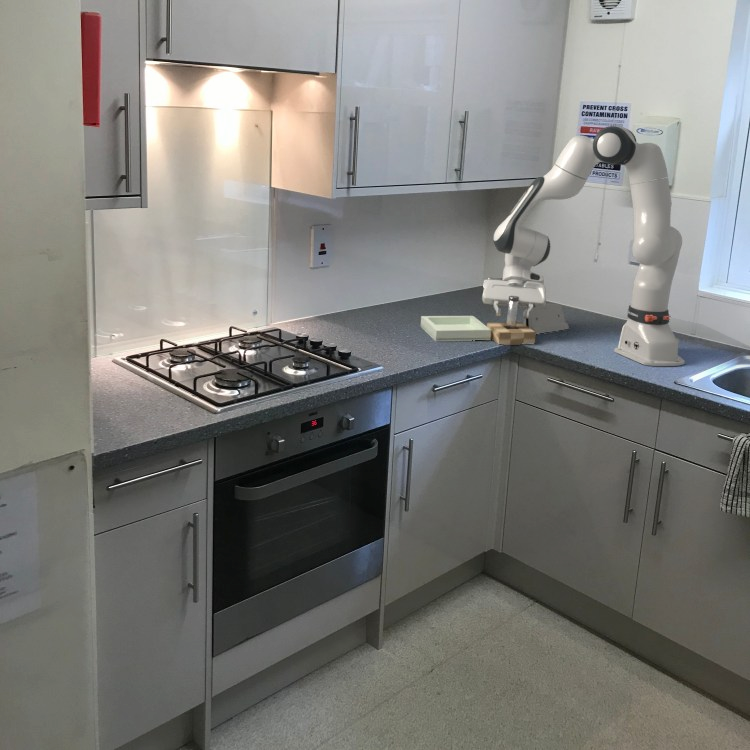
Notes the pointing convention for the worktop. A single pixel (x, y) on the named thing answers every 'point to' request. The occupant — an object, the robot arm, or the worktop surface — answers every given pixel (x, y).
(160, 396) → the worktop surface
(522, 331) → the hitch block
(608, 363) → the worktop surface
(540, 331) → the grey slotted holder
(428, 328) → the sage tray
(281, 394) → the worktop surface
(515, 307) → the steel pin
